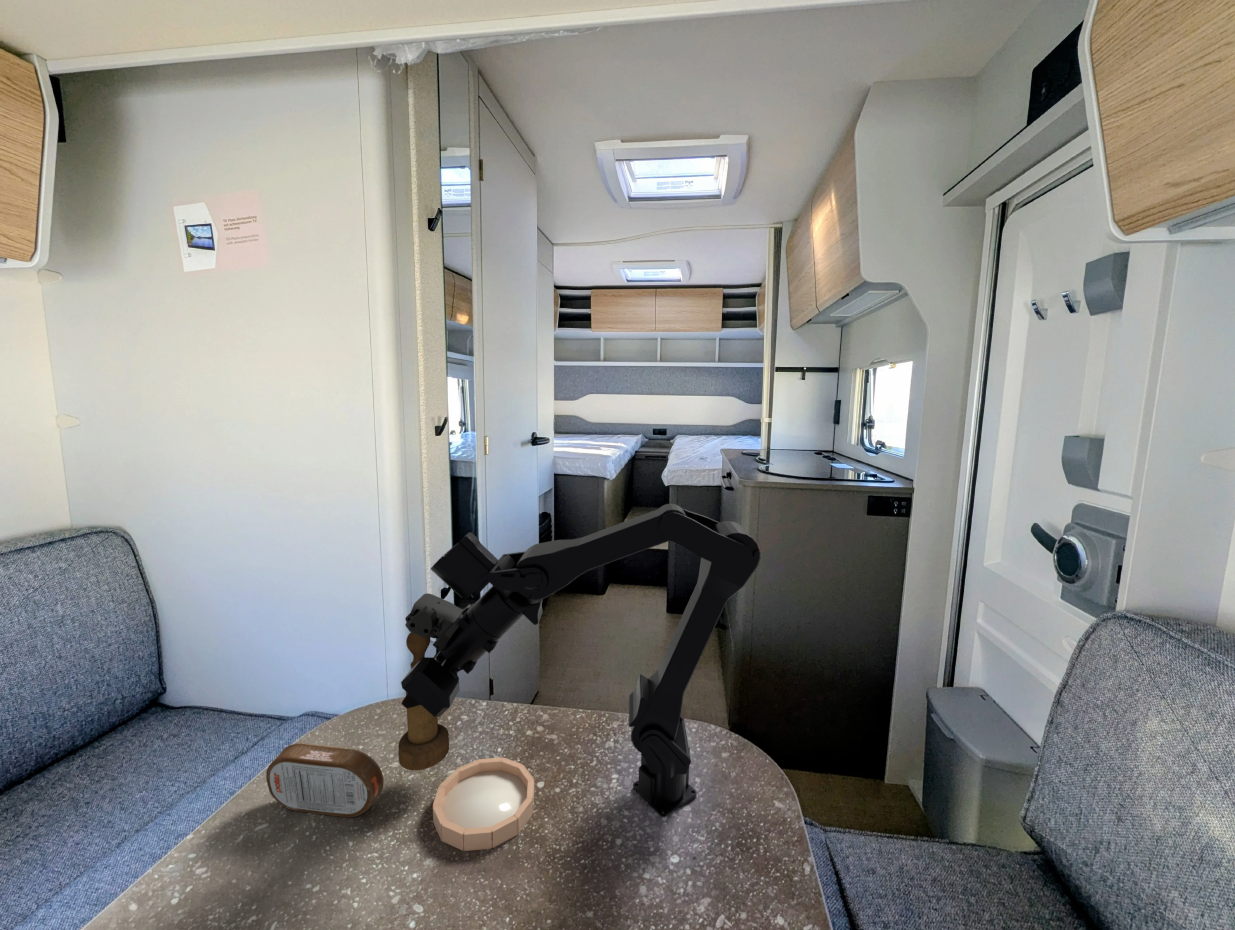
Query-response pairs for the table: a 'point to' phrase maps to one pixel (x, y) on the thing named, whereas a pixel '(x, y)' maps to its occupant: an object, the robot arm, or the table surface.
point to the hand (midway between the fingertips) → (411, 695)
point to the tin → (324, 780)
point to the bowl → (483, 804)
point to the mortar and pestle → (421, 725)
